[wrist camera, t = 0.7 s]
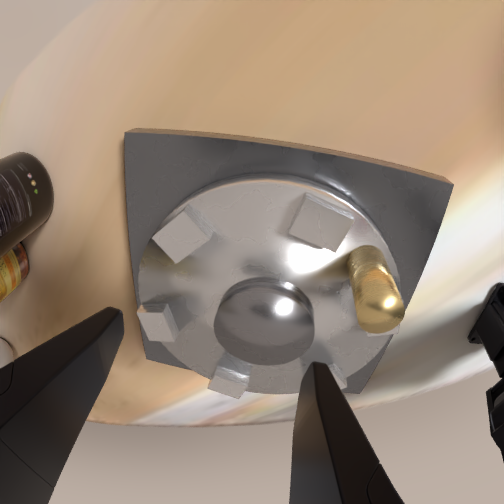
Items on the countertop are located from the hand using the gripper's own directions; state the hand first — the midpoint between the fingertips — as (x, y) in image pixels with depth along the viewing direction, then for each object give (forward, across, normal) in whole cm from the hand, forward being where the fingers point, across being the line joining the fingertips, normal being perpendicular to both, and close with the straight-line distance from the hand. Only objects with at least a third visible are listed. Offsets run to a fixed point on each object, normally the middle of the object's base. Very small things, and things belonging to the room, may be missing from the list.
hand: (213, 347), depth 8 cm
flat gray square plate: (+13, -2, +7) cm, 15 cm away
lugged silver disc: (+11, -2, +7) cm, 13 cm away
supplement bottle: (+13, +19, +4) cm, 24 cm away
